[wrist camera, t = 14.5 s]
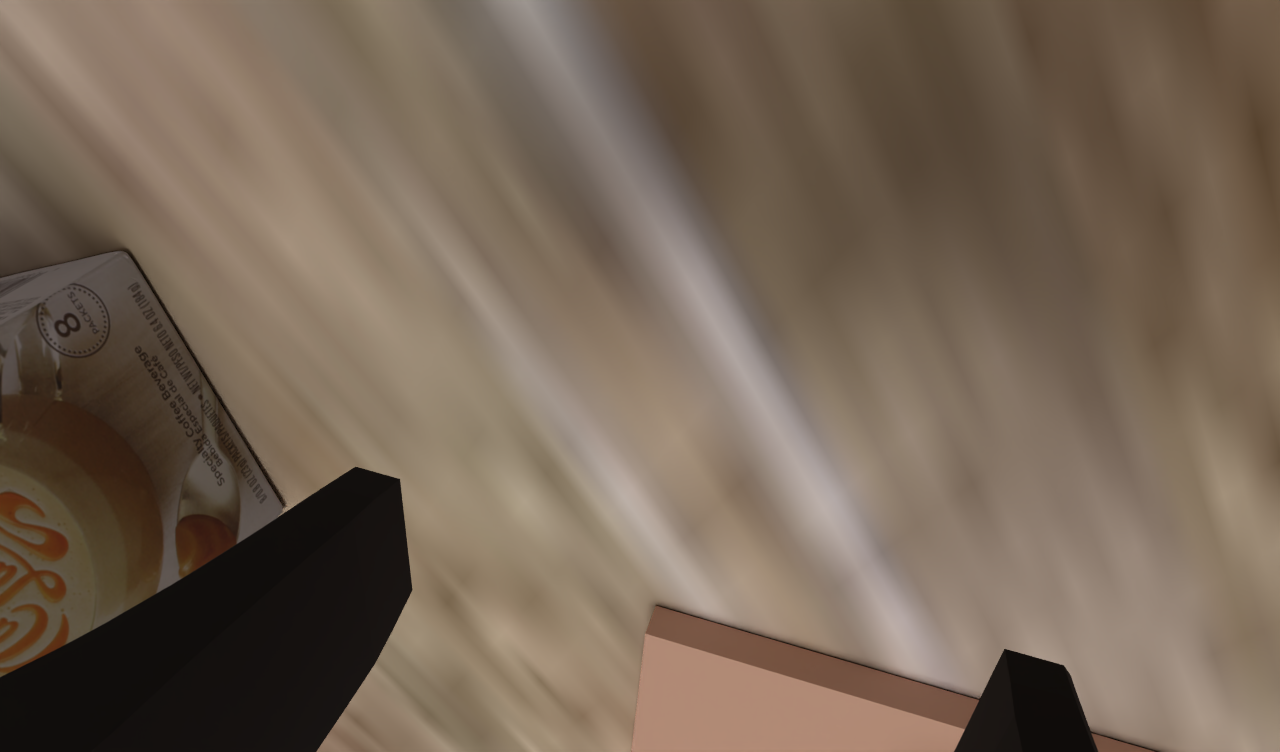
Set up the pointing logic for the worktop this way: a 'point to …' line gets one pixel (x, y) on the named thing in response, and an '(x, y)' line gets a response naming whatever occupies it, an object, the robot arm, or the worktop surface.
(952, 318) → the worktop surface
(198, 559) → the coffee box
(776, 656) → the jug holder
